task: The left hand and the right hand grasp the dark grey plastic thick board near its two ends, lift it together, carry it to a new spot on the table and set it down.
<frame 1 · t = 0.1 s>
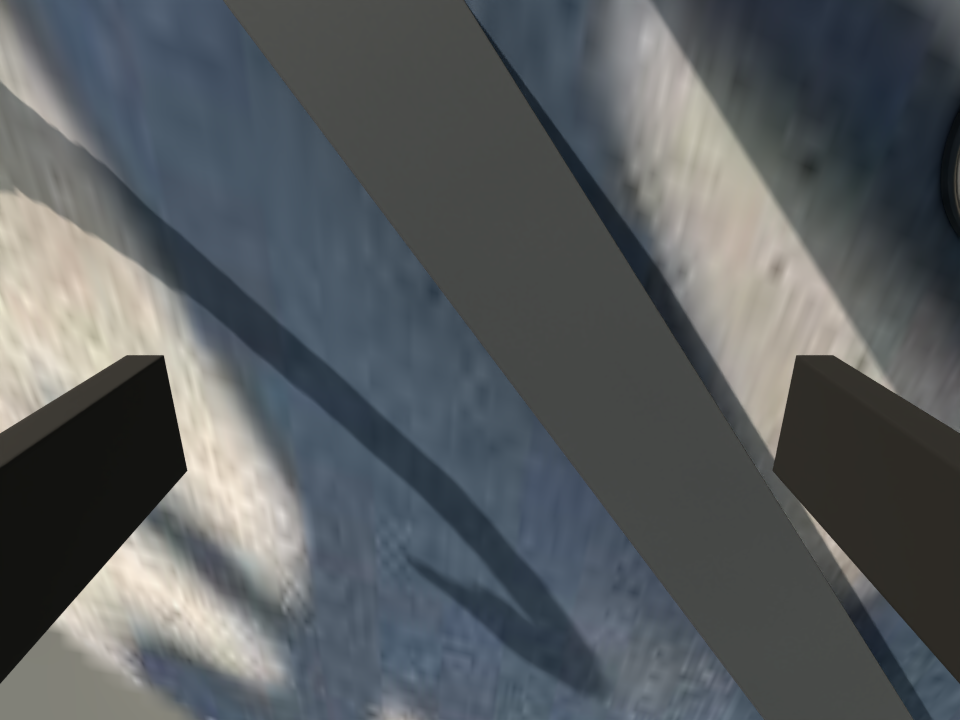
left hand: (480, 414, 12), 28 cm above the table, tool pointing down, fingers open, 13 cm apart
thick board: (629, 406, 43), on the table
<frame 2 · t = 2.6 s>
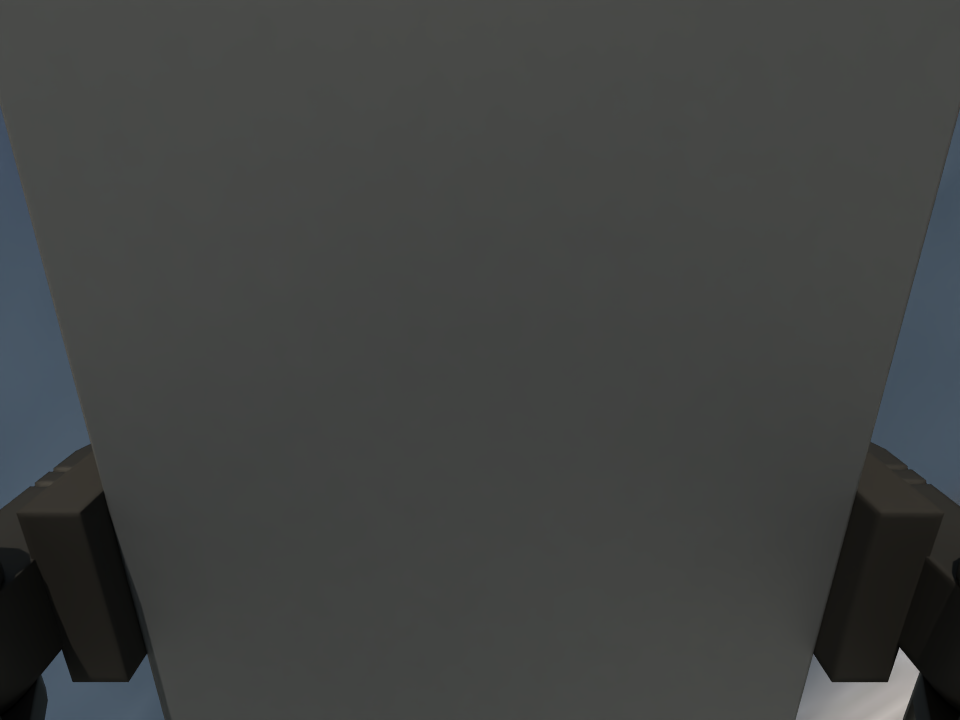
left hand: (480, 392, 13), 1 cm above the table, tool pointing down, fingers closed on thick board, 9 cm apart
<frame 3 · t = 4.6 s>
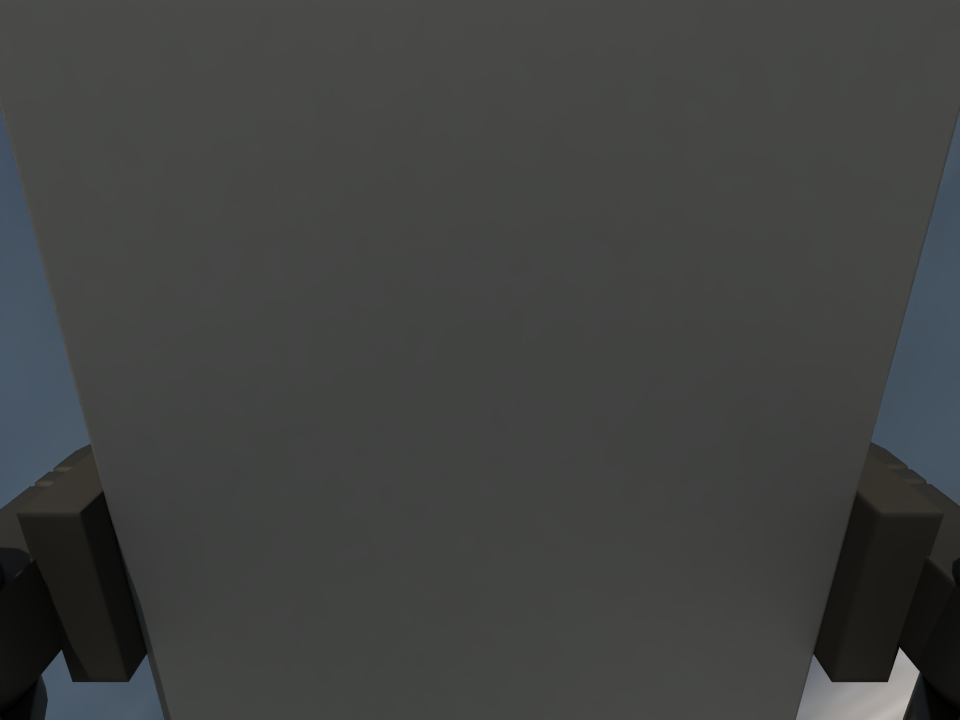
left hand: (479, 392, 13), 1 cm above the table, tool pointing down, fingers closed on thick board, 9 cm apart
when the left hand's fingers open (2 cm above the table, at t = 10.0 s): thick board drops 1 cm, on the table.
when the right hand's fingers open (2 cm above the table, at t = 10.0 s): thick board drops 1 cm, on the table.
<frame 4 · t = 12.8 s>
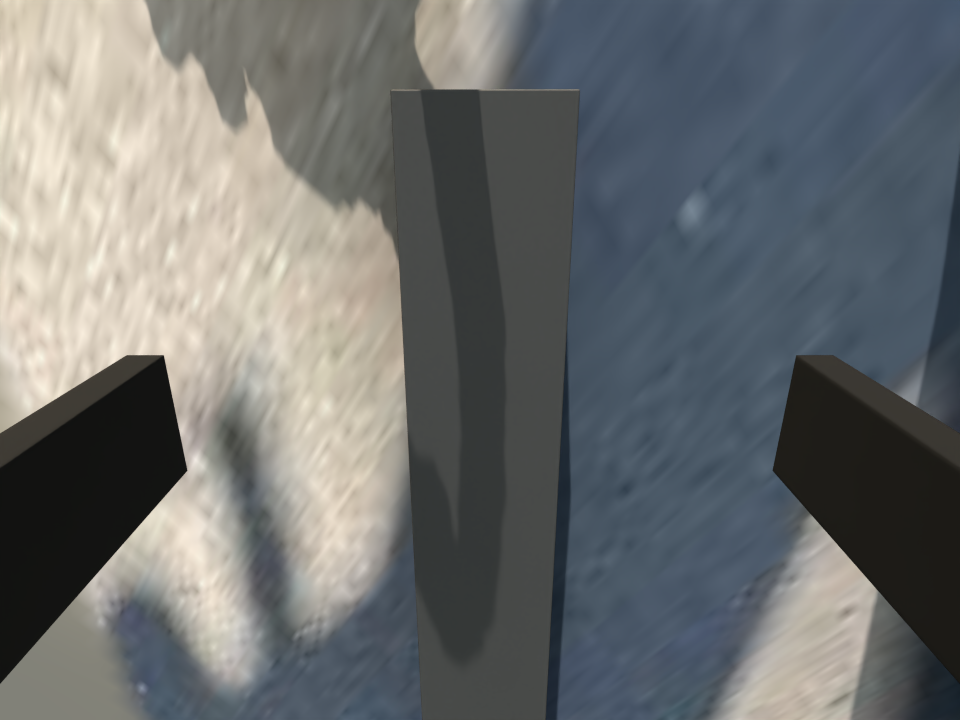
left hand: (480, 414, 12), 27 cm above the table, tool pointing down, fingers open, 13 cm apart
thick board: (483, 576, 48), on the table
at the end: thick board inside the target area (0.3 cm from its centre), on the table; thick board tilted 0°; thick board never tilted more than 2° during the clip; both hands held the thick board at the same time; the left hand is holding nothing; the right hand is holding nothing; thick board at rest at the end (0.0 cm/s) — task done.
